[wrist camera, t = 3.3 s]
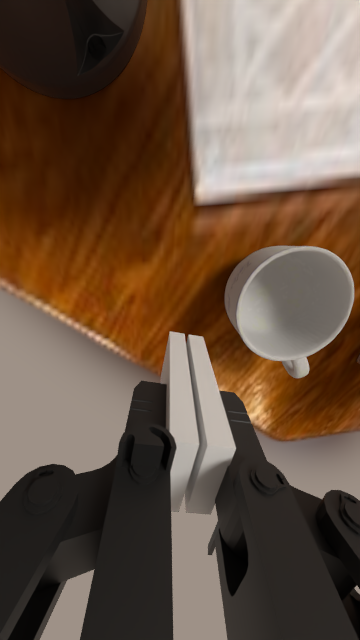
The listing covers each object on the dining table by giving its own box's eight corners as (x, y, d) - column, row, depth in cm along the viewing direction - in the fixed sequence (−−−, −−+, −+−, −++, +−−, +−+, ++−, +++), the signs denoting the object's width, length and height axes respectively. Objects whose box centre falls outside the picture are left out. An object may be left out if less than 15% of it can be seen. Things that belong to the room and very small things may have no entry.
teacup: (216, 246, 26) (234, 255, 19) (313, 234, 26) (370, 238, 19) (222, 355, 32) (238, 395, 24) (303, 345, 31) (344, 382, 24)
